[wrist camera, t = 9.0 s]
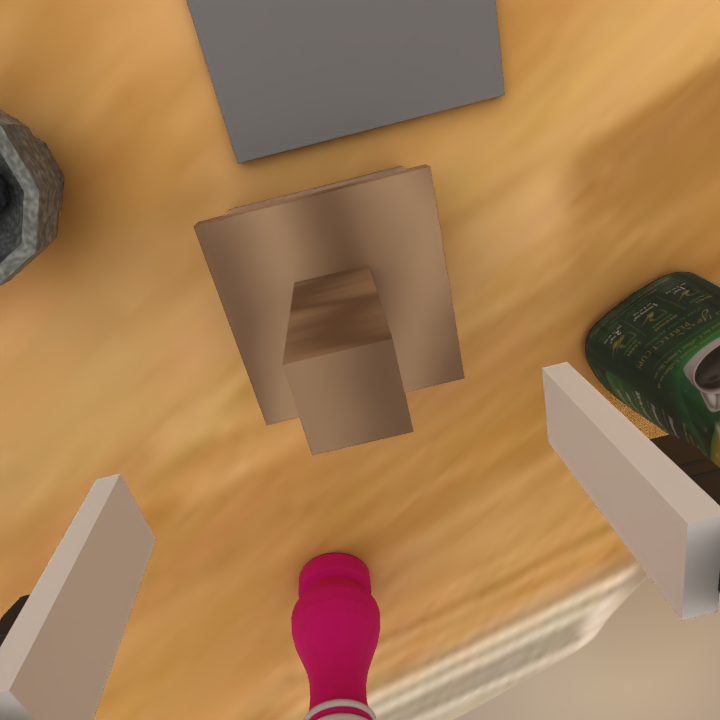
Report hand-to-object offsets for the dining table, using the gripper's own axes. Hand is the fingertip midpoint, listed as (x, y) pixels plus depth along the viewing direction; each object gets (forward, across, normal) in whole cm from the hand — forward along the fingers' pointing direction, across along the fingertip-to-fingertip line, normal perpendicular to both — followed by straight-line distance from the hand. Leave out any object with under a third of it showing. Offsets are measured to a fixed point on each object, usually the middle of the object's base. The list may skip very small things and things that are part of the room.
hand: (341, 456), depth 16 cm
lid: (+15, -1, 0) cm, 15 cm away
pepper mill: (+21, +6, +27) cm, 35 cm away
